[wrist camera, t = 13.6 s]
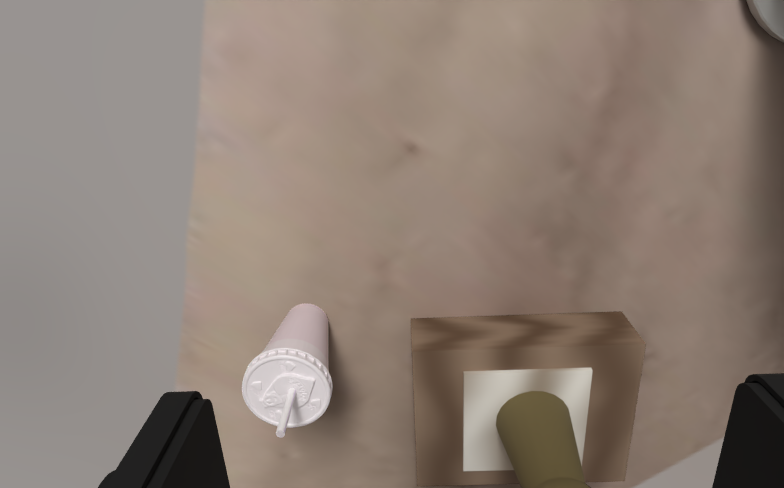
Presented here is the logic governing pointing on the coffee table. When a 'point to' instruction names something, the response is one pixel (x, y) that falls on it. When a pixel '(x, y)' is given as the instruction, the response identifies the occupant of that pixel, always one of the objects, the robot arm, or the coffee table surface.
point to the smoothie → (292, 371)
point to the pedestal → (521, 389)
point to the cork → (540, 441)
